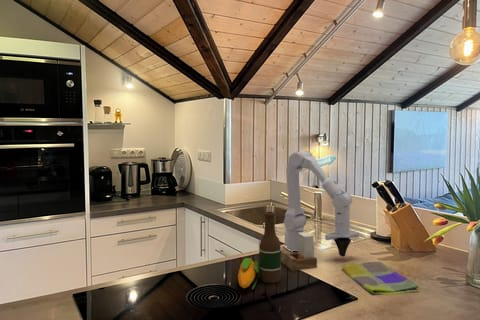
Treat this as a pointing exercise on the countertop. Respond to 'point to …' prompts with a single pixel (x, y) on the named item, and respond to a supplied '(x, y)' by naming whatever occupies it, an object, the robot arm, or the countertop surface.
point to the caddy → (297, 261)
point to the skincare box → (305, 245)
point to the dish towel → (379, 278)
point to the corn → (248, 273)
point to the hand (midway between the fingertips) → (342, 255)
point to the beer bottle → (270, 252)
